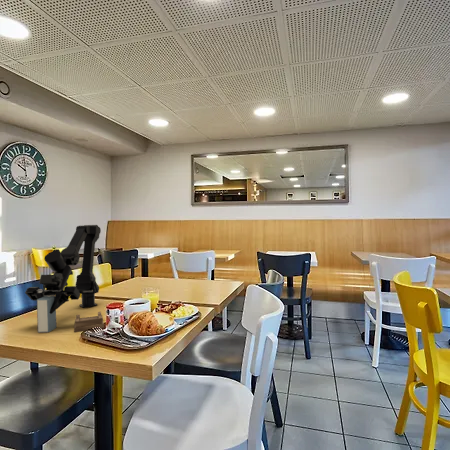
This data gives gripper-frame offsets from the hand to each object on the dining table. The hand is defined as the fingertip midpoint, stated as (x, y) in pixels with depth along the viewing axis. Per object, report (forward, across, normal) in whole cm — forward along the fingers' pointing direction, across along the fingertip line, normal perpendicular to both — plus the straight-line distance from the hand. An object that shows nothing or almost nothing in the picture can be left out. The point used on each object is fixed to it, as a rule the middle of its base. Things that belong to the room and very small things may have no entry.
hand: (44, 313), depth 113 cm
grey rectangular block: (+4, 0, +6) cm, 7 cm away
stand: (0, +14, +9) cm, 16 cm away
